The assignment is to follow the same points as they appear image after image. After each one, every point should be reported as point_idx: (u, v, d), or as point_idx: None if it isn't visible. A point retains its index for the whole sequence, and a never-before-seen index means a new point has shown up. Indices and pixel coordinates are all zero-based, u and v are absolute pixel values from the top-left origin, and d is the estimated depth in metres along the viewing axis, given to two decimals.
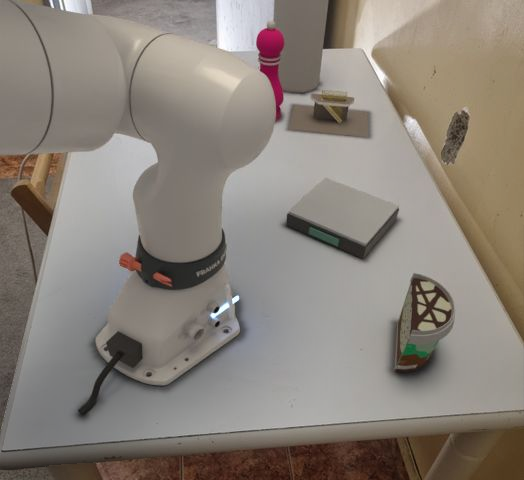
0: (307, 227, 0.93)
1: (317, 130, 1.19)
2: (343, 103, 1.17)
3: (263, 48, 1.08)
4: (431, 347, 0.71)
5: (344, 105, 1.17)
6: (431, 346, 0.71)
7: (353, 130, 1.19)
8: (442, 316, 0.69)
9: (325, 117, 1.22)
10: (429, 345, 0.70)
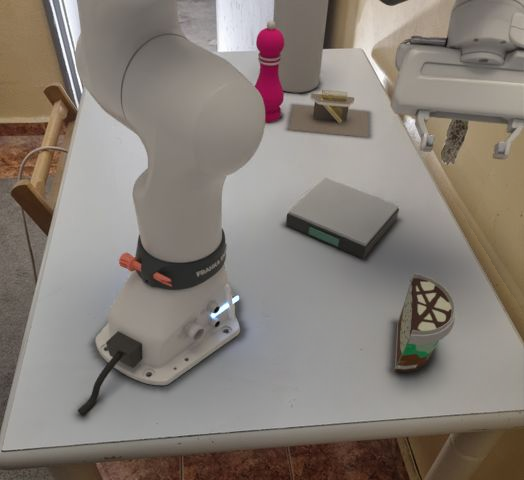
0: (307, 227, 0.93)
1: (317, 130, 1.19)
2: (343, 103, 1.17)
3: (263, 48, 1.08)
4: (431, 347, 0.71)
5: (344, 105, 1.17)
6: (431, 346, 0.71)
7: (353, 130, 1.19)
8: (442, 316, 0.69)
9: (325, 117, 1.22)
10: (429, 345, 0.70)
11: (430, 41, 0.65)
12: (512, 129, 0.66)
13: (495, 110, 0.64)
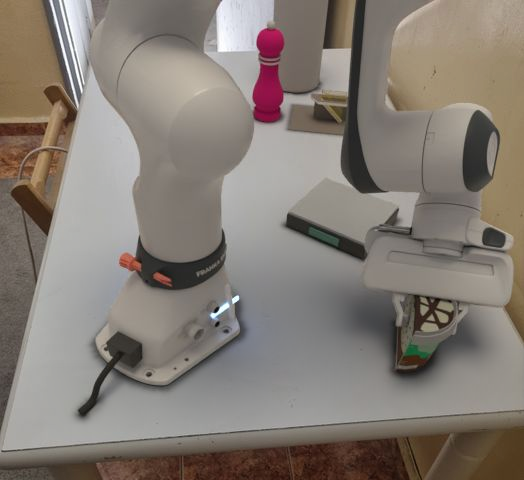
0: (307, 227, 0.93)
1: (317, 130, 1.19)
2: (343, 103, 1.17)
3: (263, 48, 1.08)
4: (433, 348, 0.71)
5: (344, 105, 1.17)
6: (433, 347, 0.71)
7: None
8: (444, 317, 0.69)
9: (325, 117, 1.22)
10: (431, 346, 0.70)
11: (396, 230, 0.72)
12: (459, 310, 0.72)
13: (454, 296, 0.70)
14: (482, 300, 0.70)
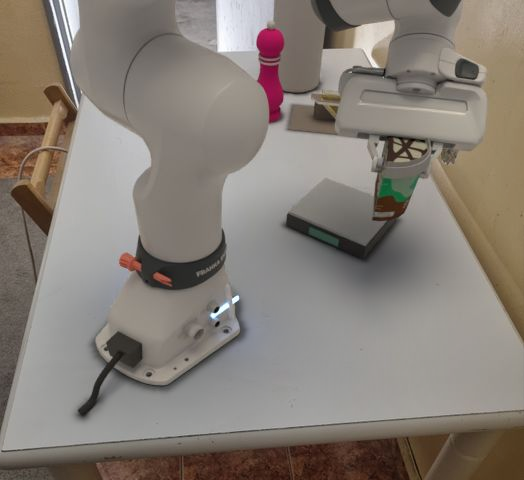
0: (307, 227, 0.93)
1: (317, 130, 1.19)
2: None
3: (263, 48, 1.08)
4: (407, 188, 0.71)
5: None
6: (407, 187, 0.70)
7: None
8: (418, 154, 0.69)
9: (325, 117, 1.22)
10: (405, 184, 0.70)
11: (370, 71, 0.71)
12: (433, 151, 0.71)
13: (428, 135, 0.70)
14: (456, 138, 0.70)
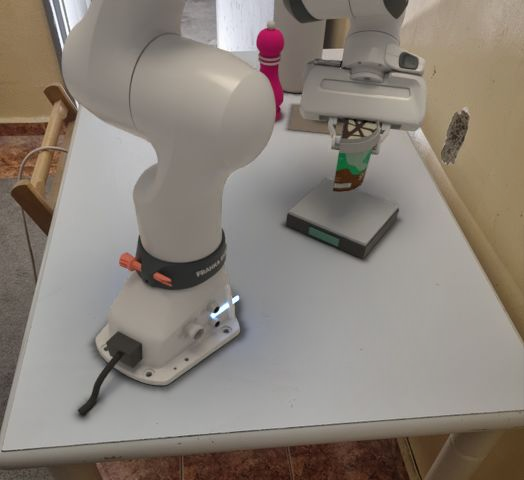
0: (307, 227, 0.93)
1: (317, 130, 1.19)
2: None
3: (263, 48, 1.08)
4: (361, 162, 0.83)
5: None
6: (360, 161, 0.83)
7: None
8: (368, 133, 0.82)
9: None
10: (358, 159, 0.82)
11: (328, 63, 0.84)
12: (382, 131, 0.84)
13: (377, 117, 0.83)
14: (401, 119, 0.82)
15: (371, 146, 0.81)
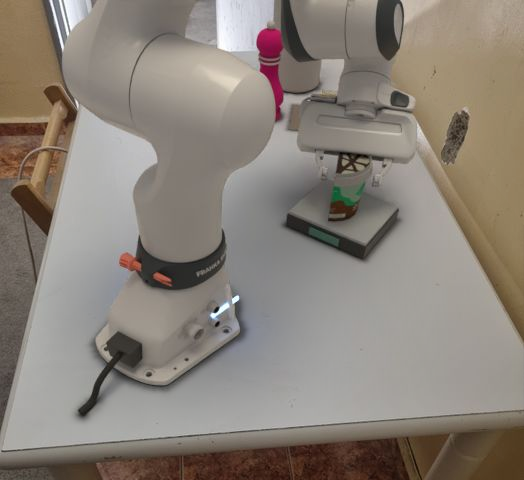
0: (307, 227, 0.93)
1: None
2: None
3: (263, 48, 1.08)
4: (354, 195, 0.88)
5: None
6: (354, 193, 0.88)
7: None
8: (361, 167, 0.86)
9: None
10: (352, 191, 0.87)
11: (324, 99, 0.88)
12: (384, 165, 0.88)
13: (370, 151, 0.87)
14: (392, 153, 0.87)
15: (364, 180, 0.86)
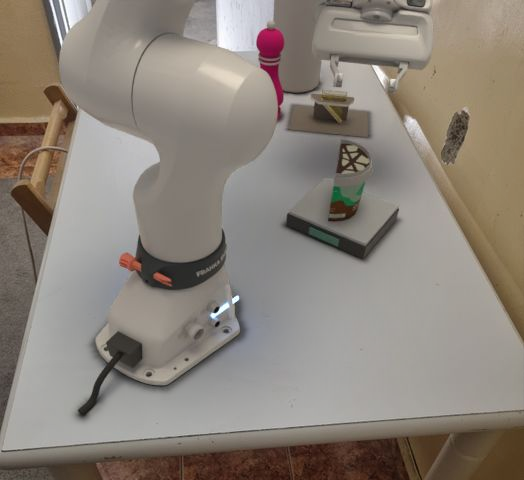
0: (307, 227, 0.93)
1: (317, 130, 1.19)
2: (343, 103, 1.17)
3: (263, 48, 1.08)
4: (354, 195, 0.88)
5: (344, 105, 1.17)
6: (354, 193, 0.88)
7: (353, 130, 1.19)
8: (361, 167, 0.86)
9: (325, 117, 1.22)
10: (352, 191, 0.87)
11: (339, 3, 0.88)
12: (400, 69, 0.88)
13: (386, 54, 0.87)
14: (409, 56, 0.86)
15: (364, 180, 0.86)
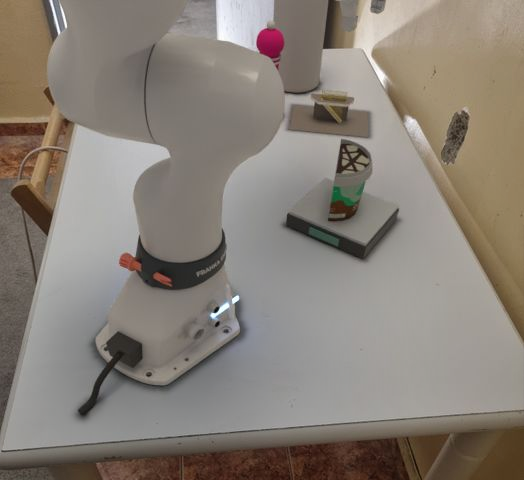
0: (307, 227, 0.93)
1: (317, 130, 1.19)
2: (343, 103, 1.17)
3: (263, 48, 1.08)
4: (354, 195, 0.88)
5: (344, 105, 1.17)
6: (354, 193, 0.88)
7: (353, 130, 1.19)
8: (361, 167, 0.86)
9: (325, 117, 1.22)
10: (352, 191, 0.87)
11: None
12: None
13: None
14: None
15: (364, 180, 0.86)
